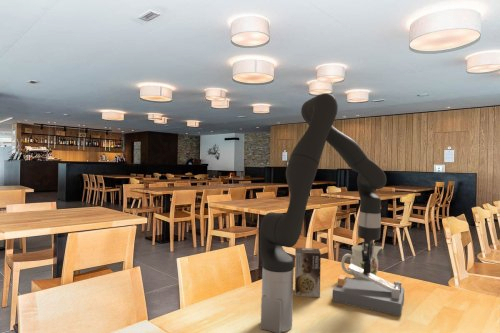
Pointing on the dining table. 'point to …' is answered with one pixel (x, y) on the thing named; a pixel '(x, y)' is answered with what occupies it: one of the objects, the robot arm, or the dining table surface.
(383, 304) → the block
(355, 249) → the pitcher
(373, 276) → the metal hinged lever
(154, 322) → the dining table surface
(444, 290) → the dining table surface
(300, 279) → the coffee box
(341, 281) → the block
